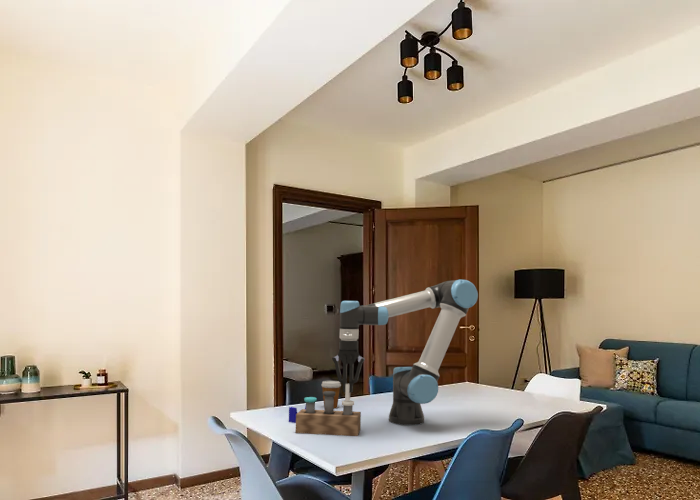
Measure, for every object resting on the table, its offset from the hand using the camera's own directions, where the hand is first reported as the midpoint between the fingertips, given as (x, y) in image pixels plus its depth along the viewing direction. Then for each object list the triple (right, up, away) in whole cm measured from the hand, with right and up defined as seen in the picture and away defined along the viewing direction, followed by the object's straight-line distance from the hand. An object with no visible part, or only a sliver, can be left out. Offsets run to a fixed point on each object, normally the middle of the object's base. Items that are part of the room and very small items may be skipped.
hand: (347, 400), depth 204 cm
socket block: (-7, -12, 0) cm, 14 cm away
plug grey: (0, -9, -1) cm, 9 cm away
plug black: (-7, -6, 0) cm, 10 cm away
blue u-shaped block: (-19, -14, +19) cm, 31 cm away
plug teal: (-15, -9, +1) cm, 17 cm away
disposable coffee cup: (-8, -17, +46) cm, 50 cm away
